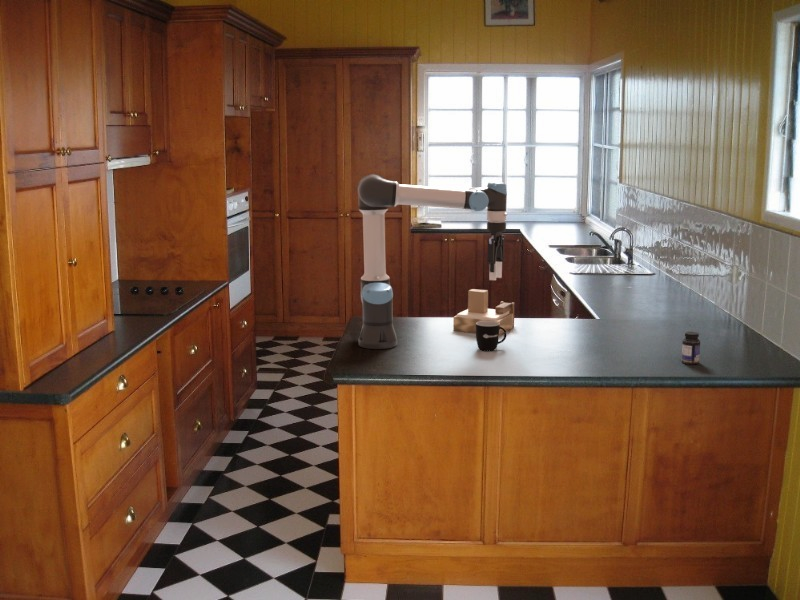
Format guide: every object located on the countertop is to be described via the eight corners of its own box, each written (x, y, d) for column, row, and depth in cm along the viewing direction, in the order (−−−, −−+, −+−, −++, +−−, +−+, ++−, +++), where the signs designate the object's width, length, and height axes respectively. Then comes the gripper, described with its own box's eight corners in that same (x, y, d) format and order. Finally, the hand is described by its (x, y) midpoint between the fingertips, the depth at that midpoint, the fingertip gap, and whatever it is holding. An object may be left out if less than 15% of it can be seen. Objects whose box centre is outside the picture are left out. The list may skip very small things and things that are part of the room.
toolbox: (453, 330, 366) (453, 306, 364) (470, 321, 382) (470, 298, 380) (498, 335, 357) (499, 310, 355) (514, 326, 373) (514, 302, 371)
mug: (479, 353, 332) (480, 326, 330) (472, 347, 340) (472, 321, 338) (510, 351, 334) (510, 325, 332) (502, 345, 343) (502, 319, 341)
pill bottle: (695, 360, 321) (697, 330, 318) (701, 364, 315) (703, 334, 312) (678, 360, 320) (680, 330, 318) (684, 365, 314) (686, 334, 312)
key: (495, 312, 365) (495, 306, 364) (505, 307, 375) (505, 302, 374) (503, 313, 363) (503, 307, 363) (512, 308, 373) (512, 302, 373)
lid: (457, 319, 365) (457, 292, 363) (471, 312, 378) (472, 286, 376) (495, 323, 357) (496, 296, 355) (509, 315, 371) (509, 289, 369)
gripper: (496, 224, 342) (495, 283, 347) (513, 219, 358) (512, 275, 363) (479, 223, 346) (478, 281, 351) (496, 218, 362) (495, 274, 366)
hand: (495, 278), depth 357 cm, fingers open, 5 cm apart
